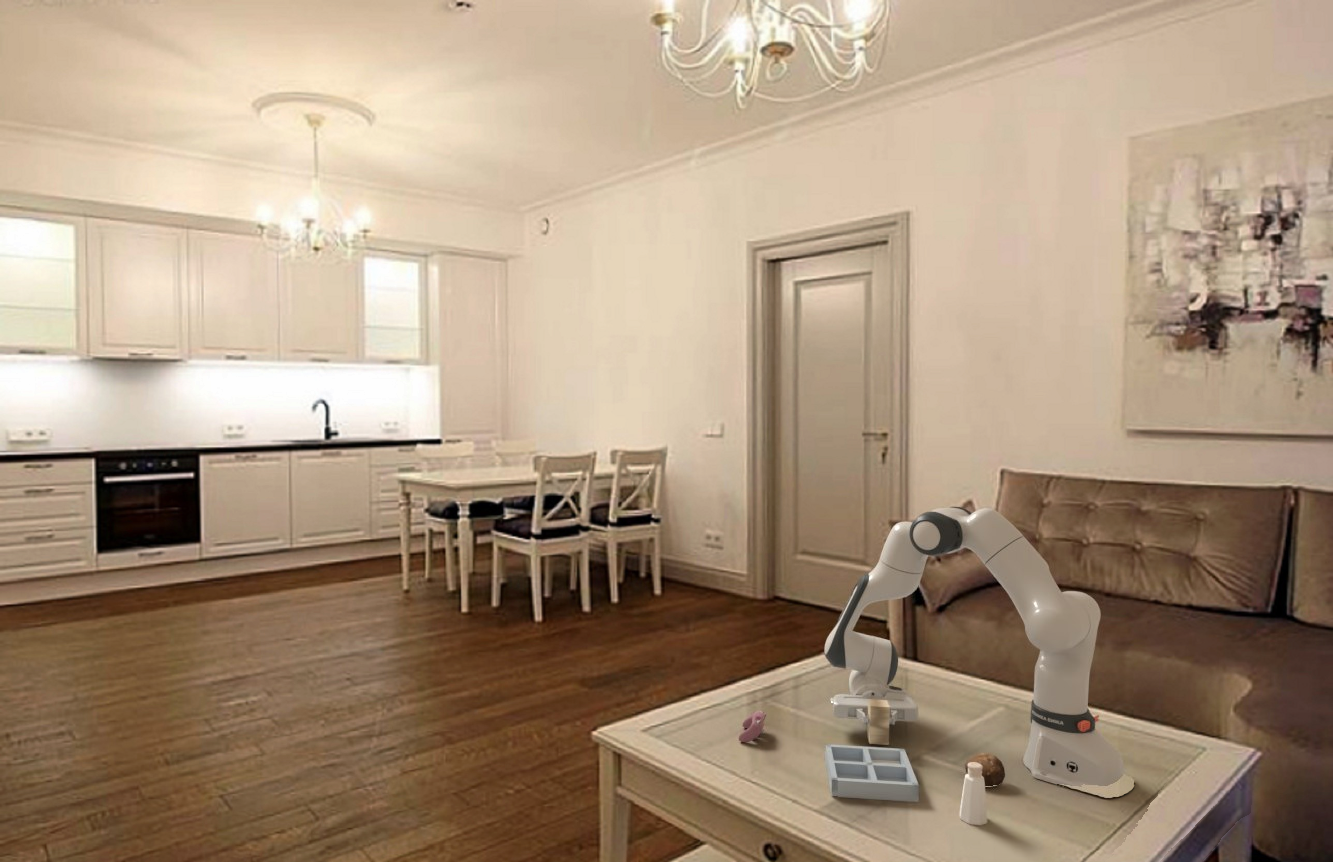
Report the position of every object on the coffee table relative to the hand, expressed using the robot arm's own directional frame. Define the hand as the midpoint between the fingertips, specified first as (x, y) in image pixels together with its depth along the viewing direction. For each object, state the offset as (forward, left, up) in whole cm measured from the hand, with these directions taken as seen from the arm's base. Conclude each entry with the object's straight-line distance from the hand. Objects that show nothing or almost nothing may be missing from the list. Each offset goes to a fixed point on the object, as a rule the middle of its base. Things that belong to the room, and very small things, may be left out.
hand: (878, 720), depth 202 cm
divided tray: (-9, +15, -6) cm, 19 cm away
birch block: (+1, -1, -5) cm, 5 cm away
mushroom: (-25, -4, -7) cm, 26 cm away
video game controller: (+22, +19, -7) cm, 30 cm away
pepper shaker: (-32, +12, -7) cm, 35 cm away
